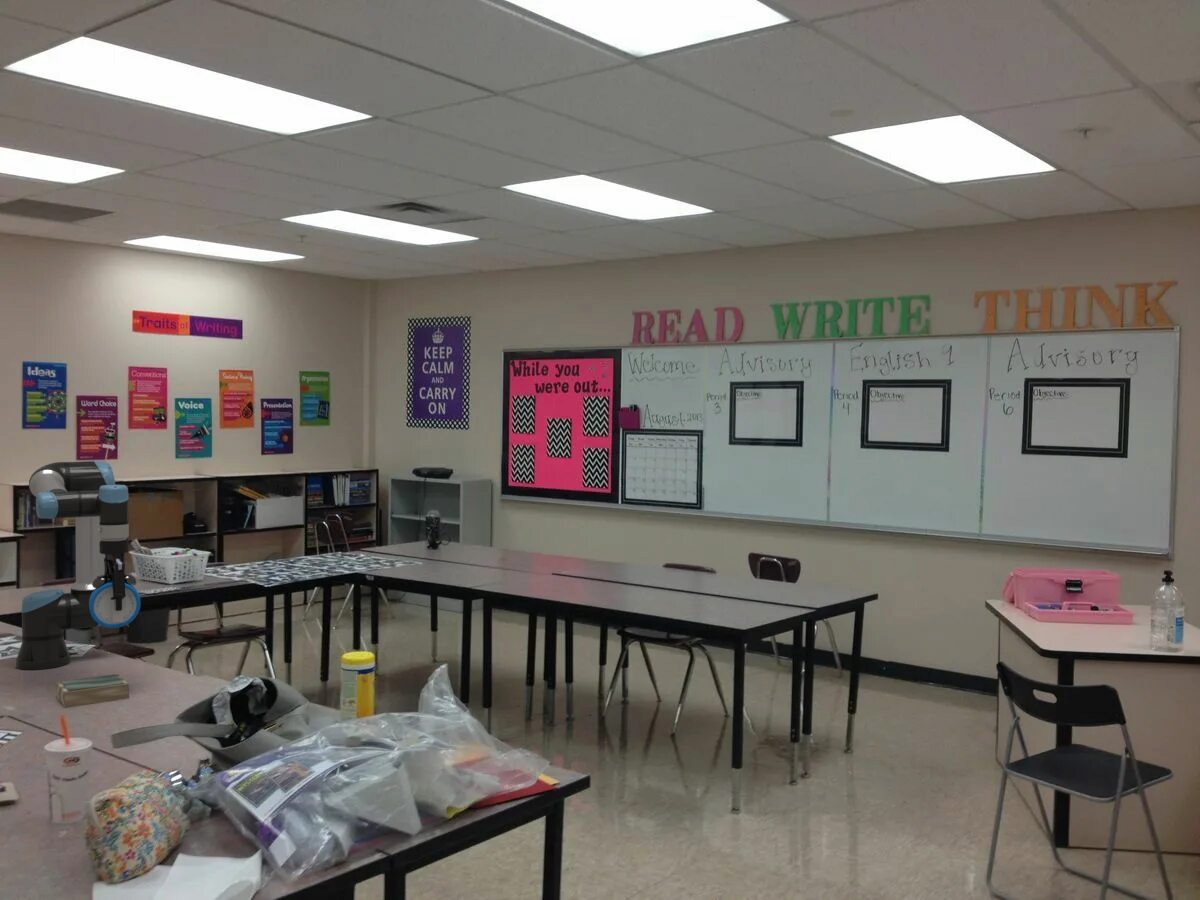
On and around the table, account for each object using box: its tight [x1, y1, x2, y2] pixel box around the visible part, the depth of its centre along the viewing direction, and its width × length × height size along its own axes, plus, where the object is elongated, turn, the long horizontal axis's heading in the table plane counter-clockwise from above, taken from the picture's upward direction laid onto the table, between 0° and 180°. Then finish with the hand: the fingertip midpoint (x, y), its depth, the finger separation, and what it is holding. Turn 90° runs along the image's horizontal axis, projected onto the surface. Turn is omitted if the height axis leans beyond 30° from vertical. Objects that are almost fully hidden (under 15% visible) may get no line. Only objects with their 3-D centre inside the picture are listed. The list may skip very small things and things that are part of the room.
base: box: [56, 673, 130, 708], centre depth 286 cm, size 14×16×4 cm
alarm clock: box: [89, 573, 142, 630], centre depth 291 cm, size 13×6×15 cm, turn 118°
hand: (114, 619), depth 291 cm, fingers closed on alarm clock, 7 cm apart
